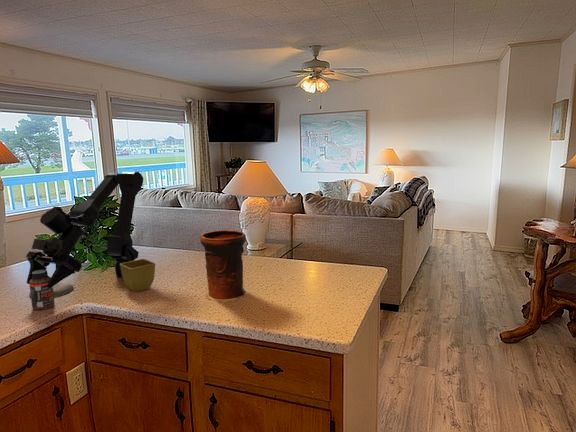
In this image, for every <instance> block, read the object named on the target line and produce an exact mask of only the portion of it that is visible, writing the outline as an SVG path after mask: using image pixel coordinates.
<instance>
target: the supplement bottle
mask: <svg viewBox="0 0 576 432" xmlns="http://www.w3.org/2000/svg"><path fill="white" fill-rule="evenodd" d="M51 277H52V276H49V275H48V270H47V269H46V270H37V271H34V272H32V279H31V280H30V282H29V284H28V285H29V293H31V297H30V299H31V308H32V309H33V310H35V311H42V310H47V309H51V308H53V307H54V306H55V297H54V292H53V287H51V288H48V287H47V285H48V283H49V281H50V279H51Z"/></svg>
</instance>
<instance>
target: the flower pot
mask: <svg viewBox="0 0 576 432" xmlns="http://www.w3.org/2000/svg"><path fill="white" fill-rule="evenodd" d="M120 268H121V272H122V277H121V278H122V279H123V281H124V283H125V285H126V287H127V288H128V289H130V290H131V291H133V292H136V293H137V292H140V291H143V290H148V289H150V288H151V286H152V285H153V282H154V279H155V272H156V263H155V262H153V261H151V260H148V259H146V258H141V259H135V260H134V261H130V262H125V263H121V264H120Z"/></svg>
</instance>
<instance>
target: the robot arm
mask: <svg viewBox="0 0 576 432" xmlns="http://www.w3.org/2000/svg"><path fill="white" fill-rule="evenodd" d="M143 183H144V177H143V175H142V174H141V173H140V172H139V171H122V172H121V173H118V172H109V173H107V174H105V176H104V178H103V180H102V181H101V182H100V183H99V184H98V186H97V187H96V188H95V189H94V191H93V192H92V193H91V194H90V196H89V197H88V198H87V199H86V200H84V201H82V202H81V203H79V204H78V205H76V206H75V207H74V208H73V209H71V211H70V212H69V213H66V212H64V210H63V209H62V208H61V207H60V206H56V205H55V206H53V207H52V209H51V208H50V209H49V210H47V211H46V212H45V213H42V215H41V217H40V221H39V222H40V223H41V224H42V226H45V227H46V228H47V229H49V230H50V231H51V232H52V233H54V234H56V235H58V234H59V235H58V236H57V238H54V237H50V238H48V239H40V238H34V239H33V242H32V245H31V250H30V251H28V252H27V254H26V255H25V258H26V260H27V261H28V262H29V265H30V266H29V271H28V275H27V280H26V284H28V285H29V282H30V280H31V279H32V272H34V271H37V270H47V269H48V268H47V267H49V265H50V264H55V270H54V272H53V274H52V275H51V276H50V277H51V279H50V281H49V283H48V285H47V287H48V288H51V287H53V286H54V285H56V284H60V282H62V281H63V280H65V279H66V278H68V277H70V276H71V275H74V274H76V272H78V273H79V272H80V270H81V269H82V268H83V265H82V264H83V263H82V262H81V260H78V259H77V258H76V257H74V256H73V255H71V253H76V251H77V249H76V246H77V244H78V243H79V241H80V239H81V238H89V233H88V229H87V228H82V227H92V226H93V225H94V224H95V223H96V221H97V219H98V218H99V216H100V209H101V207H102V206H103V205H104V204H105V202H106V201H107V199H108V198H109V197H110V196H111V194H112V193H113V191H115V189H116V188H117V187H118V188H119V190H120V193H121V196H120V203H119V207H118V214H117V218H116V219H117V220H116V225H115V226H116V227H115V231H114V232H113V233H112V235H110V234H109V235H108V237H107V243H106V244H105V245H106V247H107V251H106V252H108V254H109V255H110V257H111V260H114V259H115V262H114V269H115V271H114V272H115V275H116V276H117V278H123V277H122V272H121V268H120V264H121V263H125V262H130V261H135V260H137V259H138V257H139V253H140V252H138V251H139V250H136V249H135V248H134V247H133V238H132V236H131V234H130V232H131V227H132V220H133V214H134V207H135V203H136V196H137V195H138V194H139V192H140V191H141V190H142V186H143Z"/></svg>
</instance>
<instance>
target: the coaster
mask: <svg viewBox="0 0 576 432" xmlns="http://www.w3.org/2000/svg"><path fill="white" fill-rule="evenodd" d="M72 291H74V285H73V284H70V283H64V282H63V283H62V282H61V283H57V284H56V285H54V286H53V292H54V298H57V297H61V296H65V295H67V294H69V293H71V292H72ZM28 295H29V296H28V297H29V298H31V293H30V292H28Z"/></svg>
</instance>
